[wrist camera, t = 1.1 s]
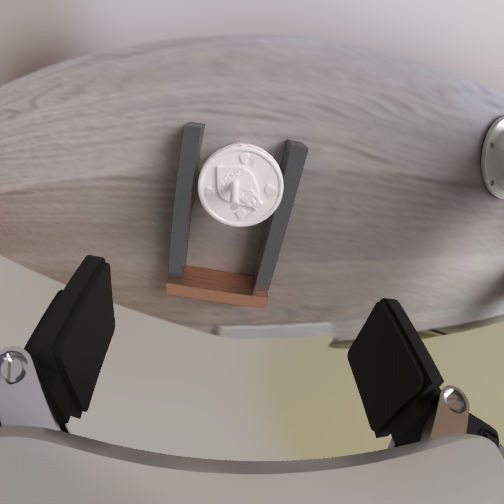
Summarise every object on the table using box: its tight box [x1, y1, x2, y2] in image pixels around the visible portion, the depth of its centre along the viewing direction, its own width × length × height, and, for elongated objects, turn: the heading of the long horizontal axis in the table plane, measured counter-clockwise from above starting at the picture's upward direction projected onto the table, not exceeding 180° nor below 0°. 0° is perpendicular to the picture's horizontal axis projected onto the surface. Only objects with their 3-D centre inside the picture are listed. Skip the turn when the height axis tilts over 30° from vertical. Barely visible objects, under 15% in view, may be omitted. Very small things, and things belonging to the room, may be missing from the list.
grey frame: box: [166, 122, 308, 308], centre depth 31 cm, size 12×19×4 cm, turn 168°
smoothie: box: [198, 141, 284, 227], centre depth 24 cm, size 6×6×14 cm
